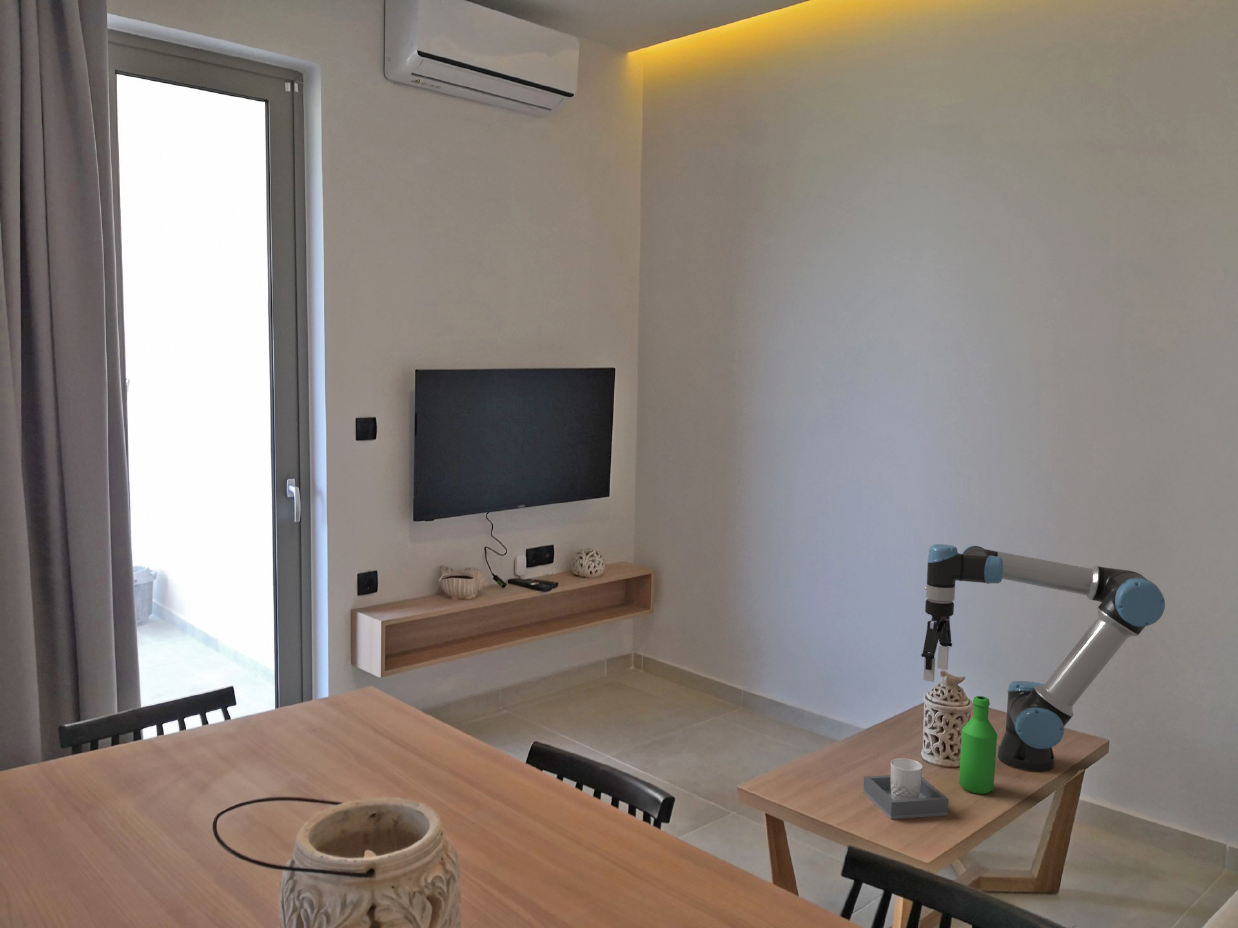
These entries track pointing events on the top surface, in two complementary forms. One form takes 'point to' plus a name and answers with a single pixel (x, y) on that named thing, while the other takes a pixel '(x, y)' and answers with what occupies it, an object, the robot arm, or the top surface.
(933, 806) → the gray tray
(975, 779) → the bottle
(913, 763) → the white cup
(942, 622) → the robot arm
